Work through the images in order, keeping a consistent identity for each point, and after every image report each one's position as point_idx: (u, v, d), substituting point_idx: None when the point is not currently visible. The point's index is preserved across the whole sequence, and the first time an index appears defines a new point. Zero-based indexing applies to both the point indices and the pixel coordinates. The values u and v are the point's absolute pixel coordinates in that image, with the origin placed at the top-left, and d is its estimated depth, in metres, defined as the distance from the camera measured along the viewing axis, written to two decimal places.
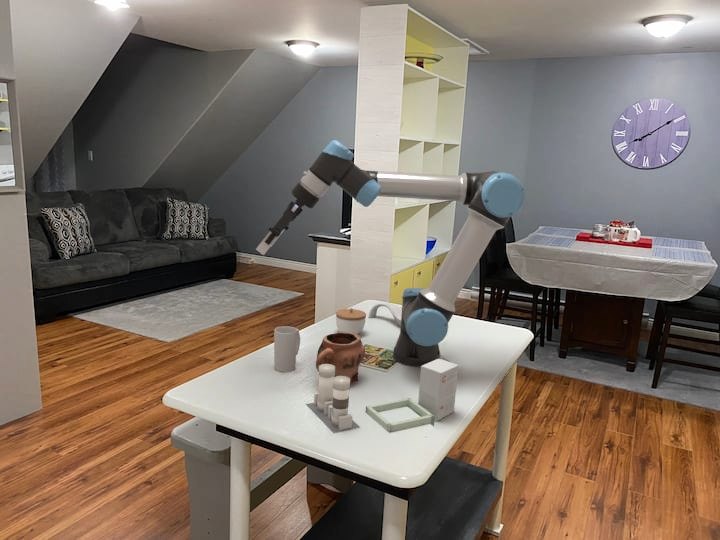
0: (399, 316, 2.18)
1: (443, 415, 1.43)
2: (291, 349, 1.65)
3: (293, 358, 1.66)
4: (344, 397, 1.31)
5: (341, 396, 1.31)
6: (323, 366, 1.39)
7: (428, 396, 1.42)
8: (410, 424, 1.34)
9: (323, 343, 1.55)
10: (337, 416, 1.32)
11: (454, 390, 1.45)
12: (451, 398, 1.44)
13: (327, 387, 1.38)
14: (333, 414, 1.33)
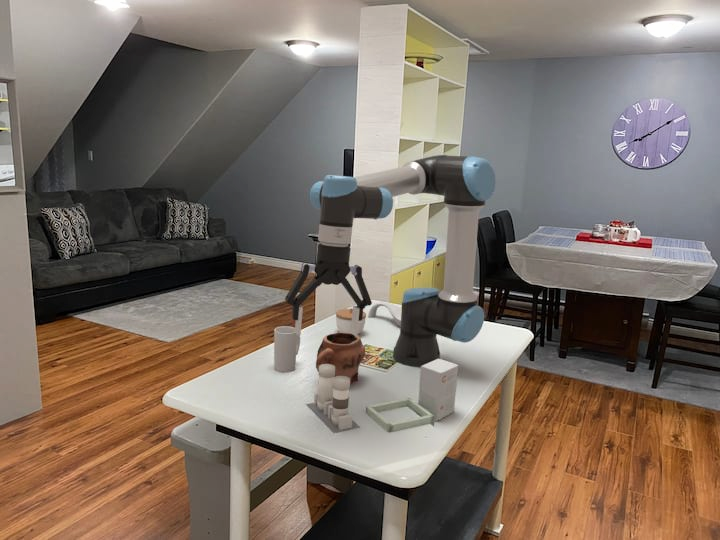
0: (398, 316, 2.19)
1: (443, 415, 1.43)
2: (291, 349, 1.65)
3: (293, 358, 1.66)
4: (344, 397, 1.31)
5: (341, 396, 1.31)
6: (323, 366, 1.39)
7: (428, 396, 1.42)
8: (410, 424, 1.34)
9: (323, 343, 1.55)
10: (337, 416, 1.32)
11: (454, 390, 1.45)
12: (451, 398, 1.44)
13: (327, 387, 1.38)
14: (333, 414, 1.33)
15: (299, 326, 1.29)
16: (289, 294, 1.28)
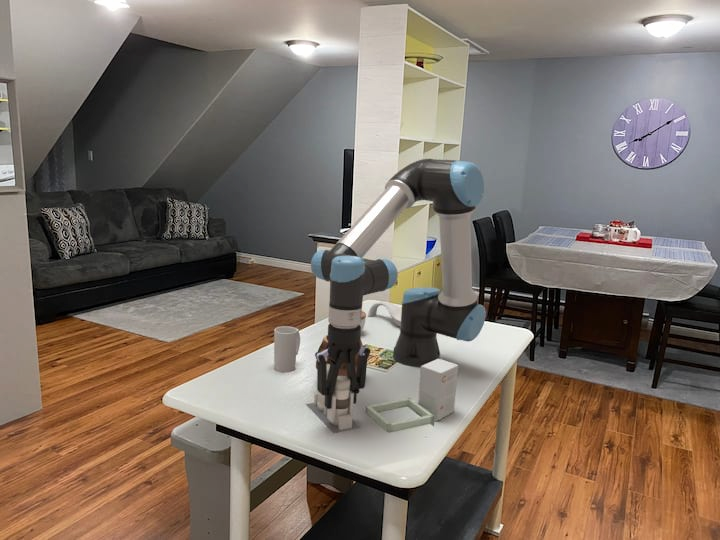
0: (397, 315, 2.19)
1: (443, 415, 1.43)
2: (291, 349, 1.65)
3: (293, 358, 1.66)
4: (344, 397, 1.31)
5: (341, 396, 1.31)
6: None
7: (428, 396, 1.42)
8: (410, 424, 1.34)
9: (323, 343, 1.55)
10: (337, 416, 1.32)
11: (454, 390, 1.45)
12: (451, 398, 1.44)
13: None
14: None
15: (333, 414, 1.31)
16: (320, 386, 1.29)
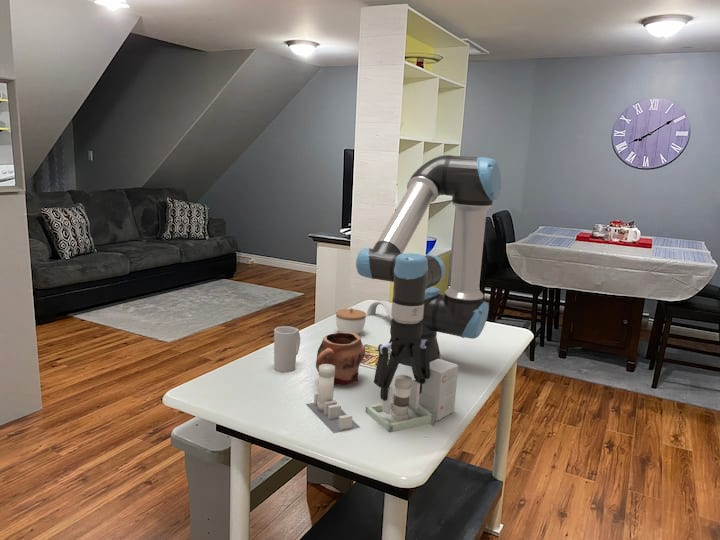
0: None
1: (443, 415, 1.43)
2: (291, 349, 1.65)
3: (293, 358, 1.66)
4: (406, 395, 1.36)
5: (403, 394, 1.36)
6: (323, 366, 1.39)
7: (428, 396, 1.42)
8: (410, 424, 1.34)
9: (323, 343, 1.55)
10: (398, 413, 1.37)
11: (454, 390, 1.45)
12: (451, 398, 1.44)
13: (327, 387, 1.38)
14: (394, 411, 1.38)
15: (389, 406, 1.35)
16: (377, 378, 1.33)
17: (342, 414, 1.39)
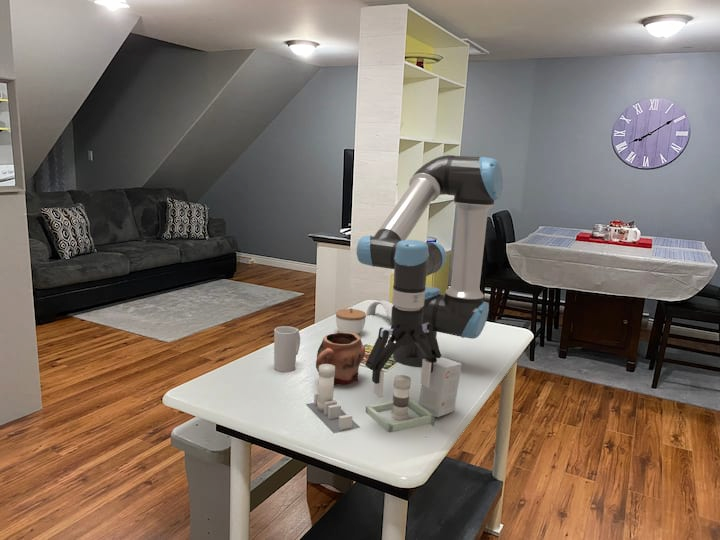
0: None
1: (444, 412, 1.43)
2: (291, 349, 1.65)
3: (293, 358, 1.66)
4: (405, 396, 1.36)
5: (402, 395, 1.36)
6: (323, 366, 1.39)
7: (430, 391, 1.42)
8: (410, 424, 1.34)
9: (323, 343, 1.55)
10: (398, 414, 1.37)
11: (456, 389, 1.45)
12: (452, 396, 1.45)
13: (327, 387, 1.38)
14: (394, 412, 1.38)
15: (381, 389, 1.33)
16: (371, 360, 1.31)
17: (342, 414, 1.39)
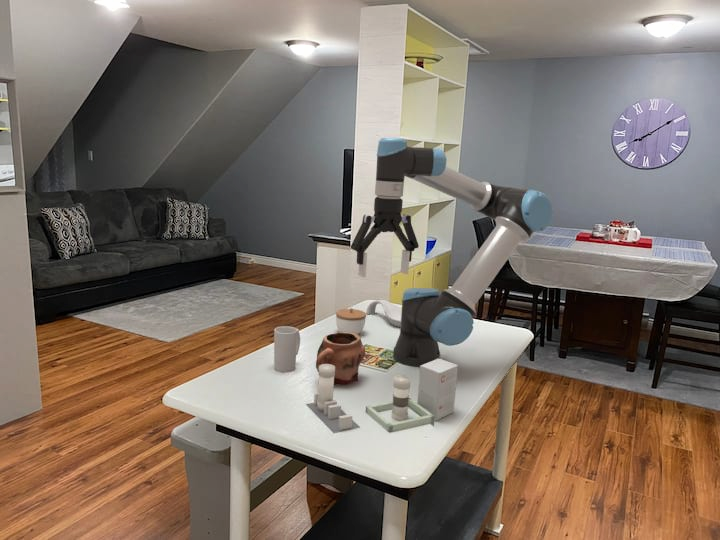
0: (393, 314, 2.21)
1: (442, 415, 1.43)
2: (291, 349, 1.65)
3: (293, 358, 1.66)
4: (405, 395, 1.36)
5: (402, 395, 1.36)
6: (323, 366, 1.39)
7: (427, 396, 1.42)
8: (410, 424, 1.34)
9: (323, 343, 1.55)
10: (398, 414, 1.37)
11: (453, 390, 1.45)
12: (450, 398, 1.44)
13: (327, 387, 1.38)
14: (394, 412, 1.38)
15: (364, 269, 1.51)
16: (355, 242, 1.49)
17: (342, 414, 1.39)
